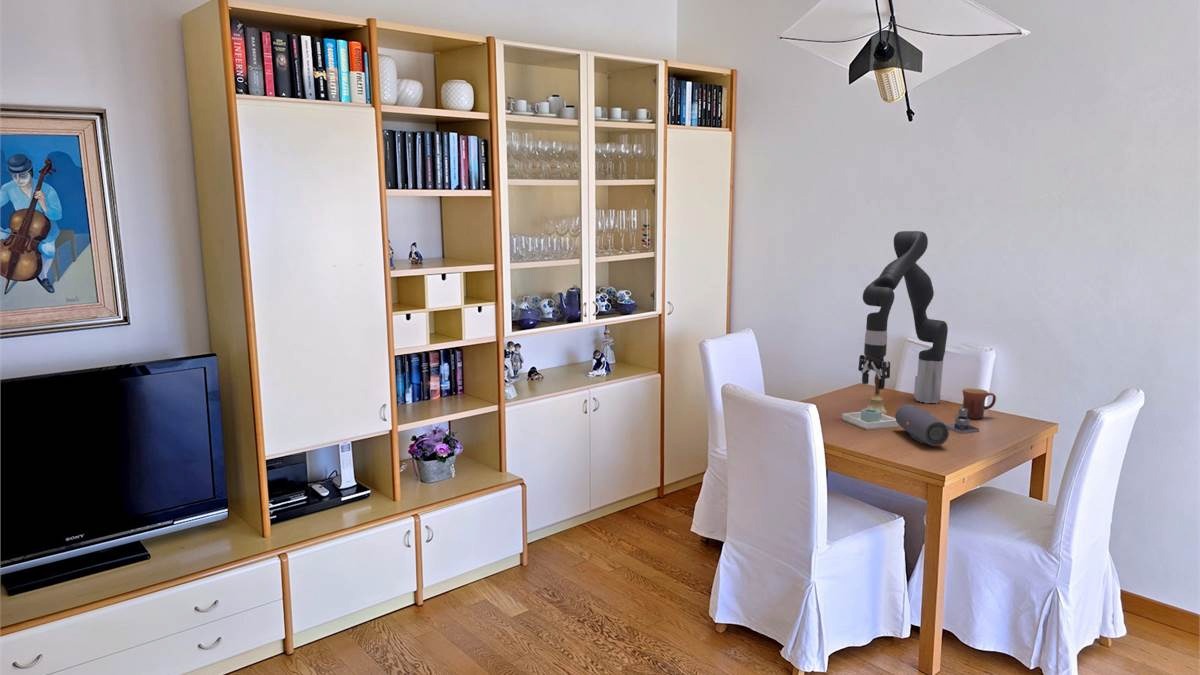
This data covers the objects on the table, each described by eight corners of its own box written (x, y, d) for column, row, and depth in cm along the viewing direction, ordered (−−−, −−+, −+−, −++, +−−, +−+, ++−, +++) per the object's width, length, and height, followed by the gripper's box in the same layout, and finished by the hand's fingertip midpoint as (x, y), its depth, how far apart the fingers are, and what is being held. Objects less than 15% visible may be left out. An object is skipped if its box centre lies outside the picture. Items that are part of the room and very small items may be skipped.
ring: (857, 420, 303) (857, 409, 302) (873, 418, 306) (874, 407, 305) (868, 424, 297) (869, 413, 296) (885, 422, 300) (886, 412, 299)
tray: (842, 419, 305) (842, 413, 305) (873, 416, 310) (873, 410, 310) (866, 430, 292) (867, 423, 292) (898, 426, 297) (899, 420, 297)
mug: (964, 420, 307) (966, 393, 306) (956, 413, 316) (959, 387, 314) (998, 421, 306) (1000, 394, 304) (989, 415, 315) (991, 388, 313)
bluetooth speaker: (892, 430, 293) (894, 402, 291) (917, 430, 293) (920, 402, 292) (921, 449, 270) (924, 420, 269) (949, 449, 271) (951, 420, 269)
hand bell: (890, 414, 314) (893, 373, 311) (868, 414, 314) (871, 373, 311) (883, 409, 322) (886, 368, 319) (861, 408, 322) (864, 368, 319)
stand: (944, 427, 297) (946, 407, 296) (961, 425, 300) (963, 405, 298) (961, 433, 290) (963, 412, 288) (978, 431, 292) (980, 410, 291)
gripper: (854, 339, 301) (851, 383, 304) (880, 346, 288) (877, 391, 291) (871, 338, 304) (868, 381, 307) (897, 345, 291) (894, 390, 294)
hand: (872, 386), depth 299 cm, fingers open, 8 cm apart
